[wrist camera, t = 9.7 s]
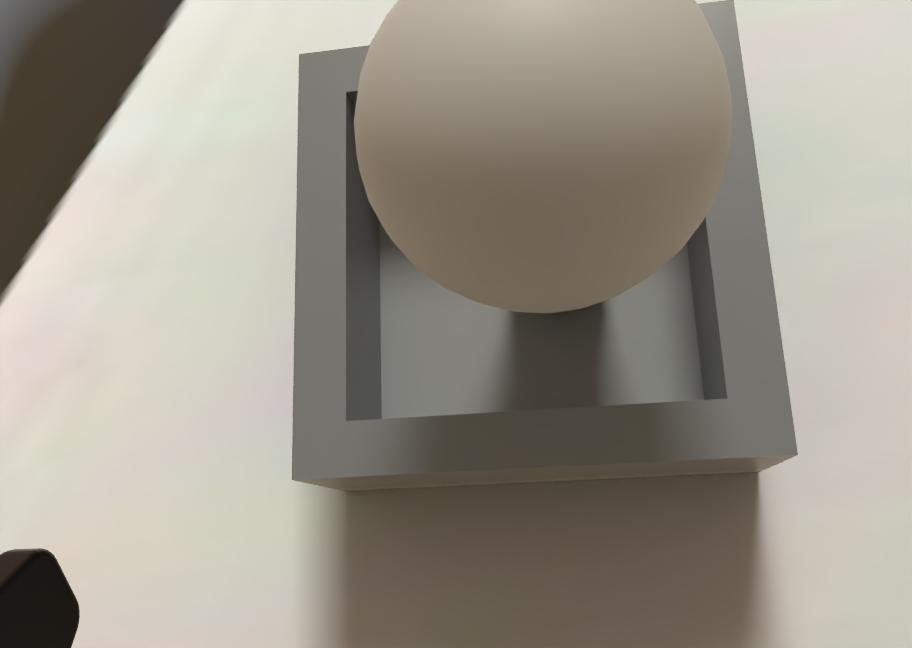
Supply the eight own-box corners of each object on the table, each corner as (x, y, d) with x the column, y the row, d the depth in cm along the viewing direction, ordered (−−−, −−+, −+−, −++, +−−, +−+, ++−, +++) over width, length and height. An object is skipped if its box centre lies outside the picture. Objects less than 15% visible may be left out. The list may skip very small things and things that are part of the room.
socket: (759, 472, 20) (797, 454, 16) (344, 491, 22) (291, 479, 18) (710, 90, 23) (733, -1, 19) (345, 131, 24) (299, 54, 21)
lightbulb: (695, 178, 21) (790, -169, 11) (664, 410, 20) (740, 269, 10) (465, 155, 23) (352, -178, 12) (422, 372, 21) (254, 209, 11)
